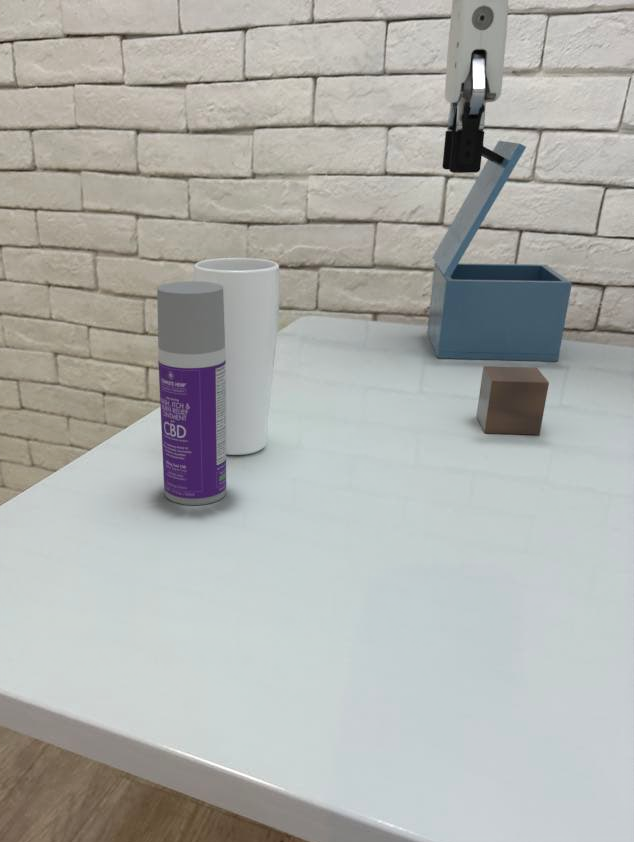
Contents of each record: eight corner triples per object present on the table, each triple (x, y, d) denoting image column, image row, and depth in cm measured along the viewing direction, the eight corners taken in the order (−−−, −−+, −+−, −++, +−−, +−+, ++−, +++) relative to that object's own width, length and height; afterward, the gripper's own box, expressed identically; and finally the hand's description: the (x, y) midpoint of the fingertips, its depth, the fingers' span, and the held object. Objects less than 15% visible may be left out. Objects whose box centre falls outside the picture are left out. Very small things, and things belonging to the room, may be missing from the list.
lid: (504, 143, 96) (465, 122, 95) (526, 146, 85) (482, 123, 84) (437, 260, 102) (401, 241, 102) (449, 277, 91) (409, 256, 91)
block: (528, 417, 77) (537, 367, 74) (539, 435, 72) (549, 382, 70) (476, 416, 77) (483, 365, 75) (484, 433, 73) (491, 380, 71)
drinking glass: (183, 454, 69) (178, 268, 62) (215, 429, 74) (213, 255, 67) (259, 465, 66) (262, 273, 59) (286, 438, 72) (291, 260, 65)
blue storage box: (534, 335, 105) (546, 264, 101) (557, 361, 94) (572, 282, 90) (427, 333, 107) (434, 263, 103) (437, 358, 96) (446, 280, 92)
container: (157, 503, 60) (147, 292, 53) (172, 478, 64) (164, 280, 57) (220, 507, 59) (218, 294, 52) (231, 482, 63) (230, 281, 56)
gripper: (536, -38, 76) (508, 175, 84) (503, -11, 91) (482, 166, 99) (453, -35, 77) (433, 175, 85) (434, -9, 92) (419, 167, 100)
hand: (460, 169), depth 92 cm, fingers closed on lid, 6 cm apart
